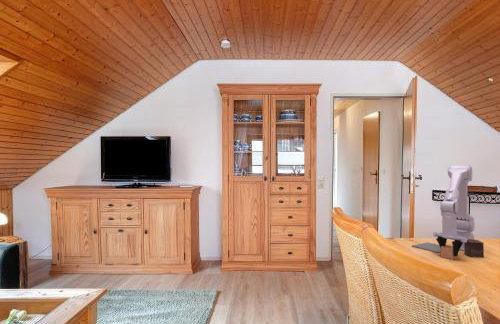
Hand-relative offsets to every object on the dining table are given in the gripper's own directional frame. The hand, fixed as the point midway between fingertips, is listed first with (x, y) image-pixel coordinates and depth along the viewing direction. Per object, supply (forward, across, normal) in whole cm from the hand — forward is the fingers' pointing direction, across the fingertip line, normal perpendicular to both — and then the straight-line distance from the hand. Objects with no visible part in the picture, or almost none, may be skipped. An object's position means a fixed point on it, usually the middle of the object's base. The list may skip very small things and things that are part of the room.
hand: (449, 254), depth 151 cm
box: (+2, +4, +13) cm, 14 cm away
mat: (+1, -14, +9) cm, 17 cm away
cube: (+1, 0, 0) cm, 1 cm away
